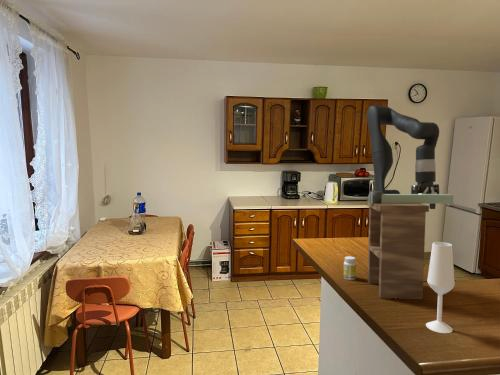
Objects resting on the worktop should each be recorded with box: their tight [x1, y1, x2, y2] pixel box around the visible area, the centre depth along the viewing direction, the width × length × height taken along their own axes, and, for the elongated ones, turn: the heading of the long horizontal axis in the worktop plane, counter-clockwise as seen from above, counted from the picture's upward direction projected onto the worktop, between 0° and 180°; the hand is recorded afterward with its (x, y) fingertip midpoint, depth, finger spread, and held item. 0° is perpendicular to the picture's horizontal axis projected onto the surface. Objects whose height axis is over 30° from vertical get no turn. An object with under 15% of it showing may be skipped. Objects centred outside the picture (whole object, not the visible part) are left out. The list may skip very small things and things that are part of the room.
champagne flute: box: [425, 241, 456, 334], centre depth 96 cm, size 7×7×24 cm
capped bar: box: [368, 190, 454, 205], centre depth 122 cm, size 4×28×4 cm, turn 86°
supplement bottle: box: [343, 255, 357, 281], centre depth 137 cm, size 5×5×8 cm
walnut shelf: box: [366, 199, 430, 300], centre depth 124 cm, size 16×16×32 cm
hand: (425, 209), depth 142 cm, fingers open, 8 cm apart
